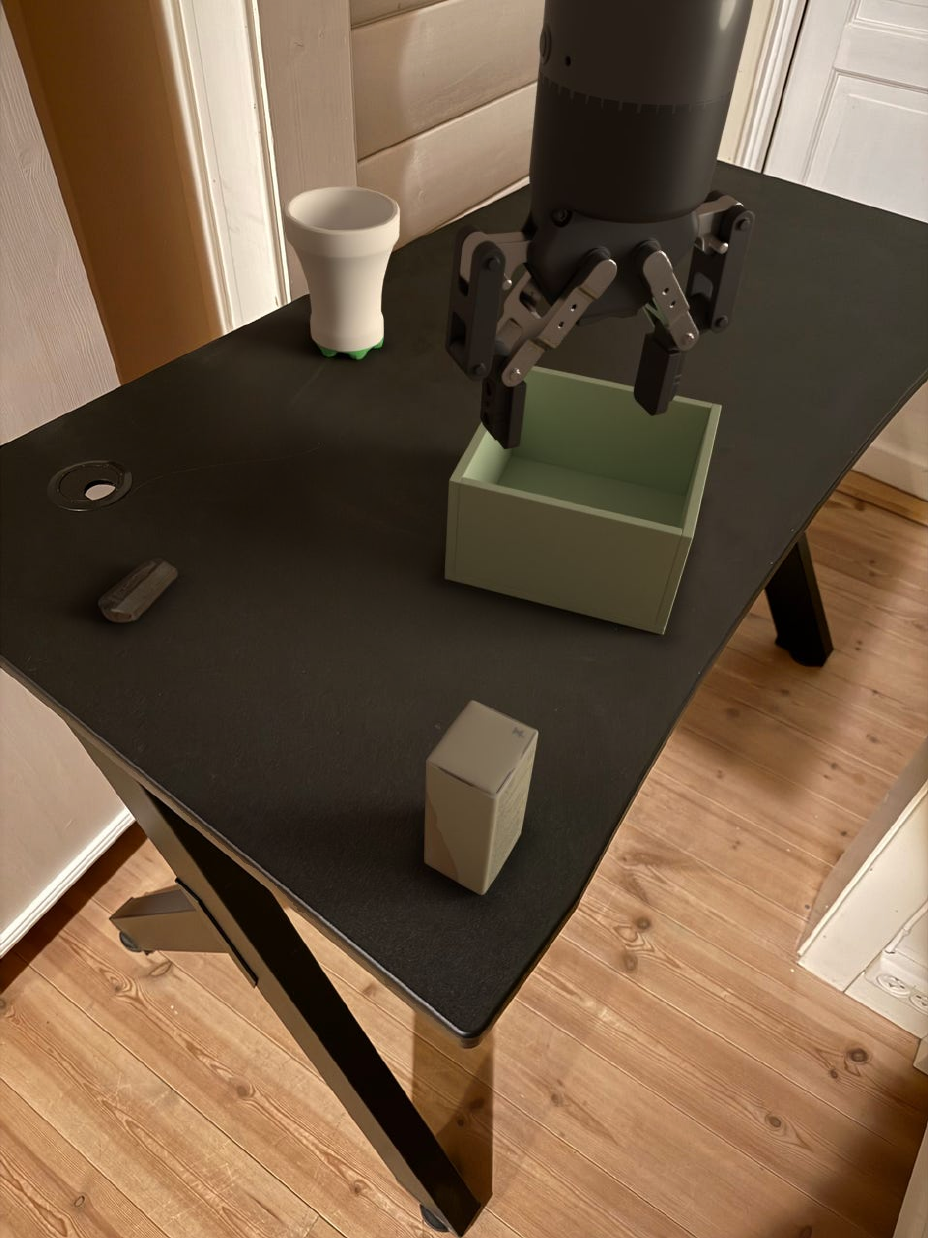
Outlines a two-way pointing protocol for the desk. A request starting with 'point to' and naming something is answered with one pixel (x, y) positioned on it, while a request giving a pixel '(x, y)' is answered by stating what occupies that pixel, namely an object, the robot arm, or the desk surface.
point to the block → (137, 591)
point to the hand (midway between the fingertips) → (578, 422)
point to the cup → (343, 262)
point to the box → (477, 795)
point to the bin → (583, 501)
